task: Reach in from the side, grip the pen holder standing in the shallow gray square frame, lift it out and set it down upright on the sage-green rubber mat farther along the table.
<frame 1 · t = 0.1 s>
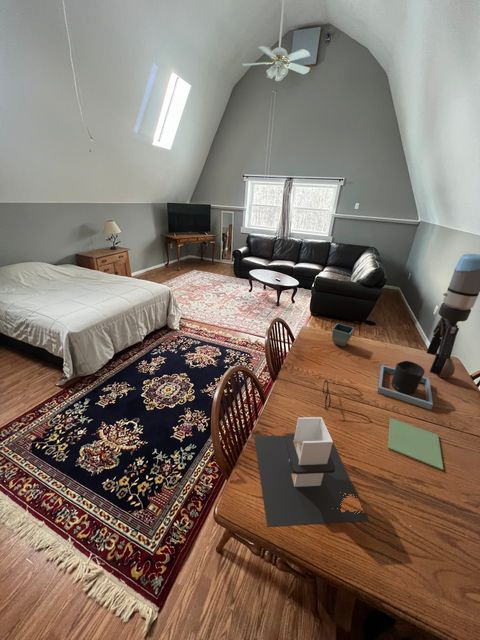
hand: (432, 363, 92), 19 cm above the table, tool pointing down, fingers open, 13 cm apart
flower pot: (339, 343, 139), on the table
mat: (413, 442, 84), on the table
gray square frame: (402, 387, 109), on the table
pen holder: (402, 388, 109), resting in gray square frame
glasses: (344, 403, 99), on the table
vase: (441, 375, 117), on the table
hopper stand: (303, 473, 73), on the table
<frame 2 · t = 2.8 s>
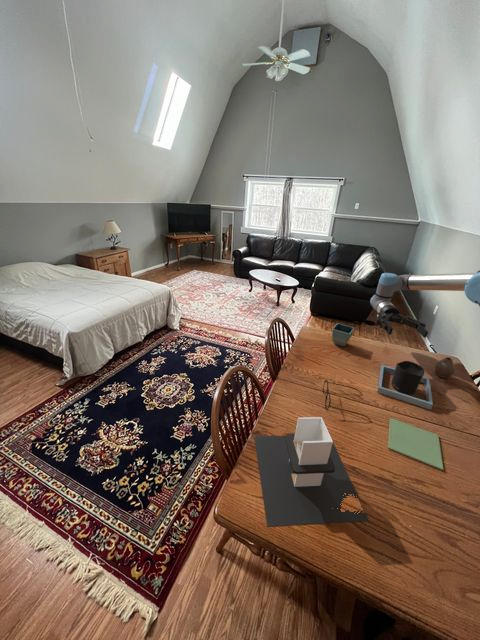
hand: (408, 333, 108), 20 cm above the table, tool horizontal, fingers open, 13 cm apart
nothing on the table moved.
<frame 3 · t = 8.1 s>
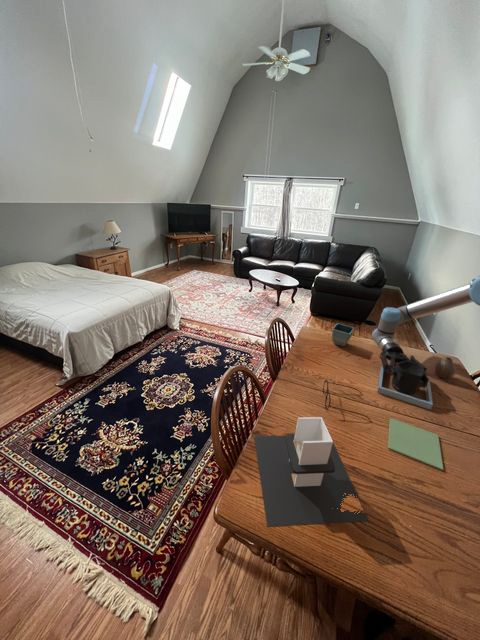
hand: (413, 380, 101), 7 cm above the table, tool horizontal, fingers closed on pen holder, 9 cm apart
pen holder: (402, 388, 109), resting in gray square frame, touching gripper
everything else where it was.
when the fingers open (8 cm above the table, at t = 17.2 s): pen holder stays where it is, resting on mat.
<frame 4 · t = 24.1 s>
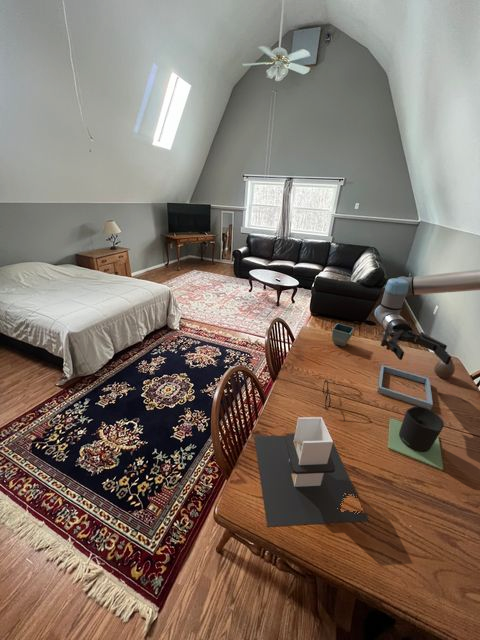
hand: (425, 358, 82), 25 cm above the table, tool horizontal, fingers open, 13 cm apart
pen holder: (413, 441, 84), resting on mat
everything else where it was.
at the end: pen holder inside the target area on the mat (0.0 cm from its centre), point 0.4 cm above the mat's base; pen holder tilted 0°; the gripper is holding nothing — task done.
